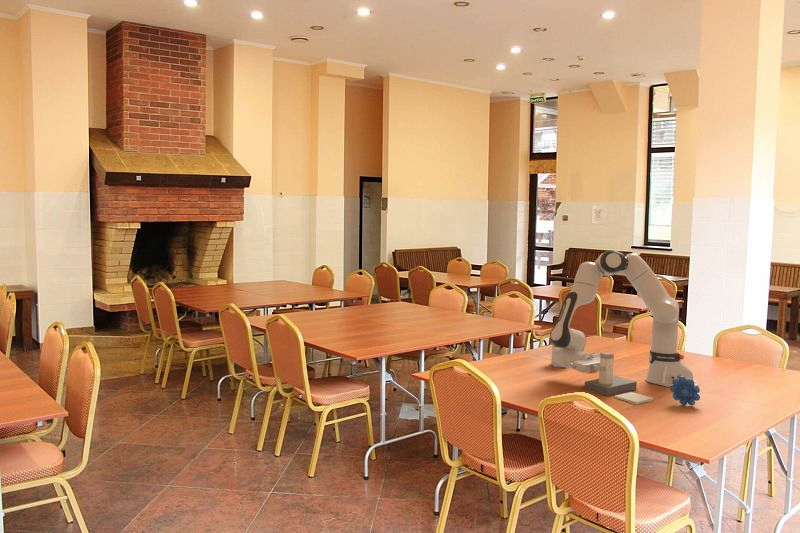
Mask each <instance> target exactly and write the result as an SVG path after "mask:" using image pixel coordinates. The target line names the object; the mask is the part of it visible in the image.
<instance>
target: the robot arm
mask: <svg viewBox="0 0 800 533" xmlns="http://www.w3.org/2000/svg"><path fill="white" fill-rule="evenodd" d="M618 273H620V274H622V275H624V276H625V277H626V279H627V280H628V281H629V282H630V284H631V286H632V287H633V288H634V290H635V291H636V292H637V294H638V295H639V296H640V298H641V299H642V302H643V303H644V305H646V307H647V309H648V310H649V312H650V313H651V315H652V330H651V341H650V344H651V345H650V350H649V355H648V360H649V367H648V371H647V375H646V378H645V381H646V382H648V383H651V384H654V385H660V386H664V387H667V388H668V387H669V388H670V386H672V385H673V384H672V380H673V379H678V380H679V377H681V376H683V377H685V378H686V380H688V379H692V380H693V381H694V383H695V384H694V386H698V387H699V382H698V381H697V380H696V379H694V373H693V371H692V369H691V368H689V367H688V366H687V365H686V364H685V363H684V362H683V361H682V360H684V359H685V355H683V354H681V353H679V352H678V336H679V318H680V317H679V316H680V304H679V303H678V301H677V299H675V298H674V297H672V296H671V295H670V293H669V292H668V290H667V289H666V287H664V285H663V283H662V282H661V281H660V279H659V278H658V276H657V275H656V274H655V273H654V271H653V269H652V268H651V267H650V266H649V265H648V263H647V262H646V261H645V260H644V259H643V258H642V257H641V256H640V255H639V254H638V253H633V252H631V253H628V254H624V253H622V252H620V251H618V250H616V249H615V250H614V249H609V250H608V249H607V250H605V251H604V252H603V253H601V254H600V255H599V256H598V257H597V258H596V260H594V261H593V262H592V261H584V262H582V263H581V264H580V265H579V267H578V269H577V271H576V274H575V277H574V281H573V284H572V288H571V290H570V292H569V293H567V294H566V296H565V298H564V300H563V303H562V305H561V308H560V311H559V314H558V316H557V319H556V322H555V324H554V325H553V327H552V329H551V331H550V334H549V335H550V336H549V337H550V338H549V339H550V341H551V345H552V344H553V345H554V346H555V347H556V348H554V350H553V352H552V351H551V359H552V358H553V360H554V362H555V363H556V364H558V365H560V366H563V367H562V368H566V369H572V370H574V371H576V372H579V373H583V374H585V373H591V372H595V371H596V372H599V371H605V367H603V366H600V355H599V354H598V353H597V352H596V353H595V352H586V351H584V350H585V347H586V345H587V337H586V334H585V333H584V332H582V331H580V330H578V329H574V328H571V327H570V326H571V325H570V324H571V322H572V319H573V316H574V315H575V314H574V313H575V311H576V309H577V308H578V307H581V306H586V305H587V304H590V303H592V302H593V301H594V300H595V299H596V296H597V294H598V288H599V285H600V284H599V283H600V280H601V278H604V277H606V278H607V277H612V276H614V275H616V274H618Z"/></svg>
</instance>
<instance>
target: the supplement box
mask: <svg viewBox="0 0 800 533" xmlns="http://www.w3.org/2000/svg"><path fill="white" fill-rule="evenodd" d="M554 348H556V347H555V346H554V345H553V344H552V343H551V353H552V352H553V350H554ZM550 364H551V365H552V366H553V367H554V368H564V367H563V366H560V365H558V364H556V363H555V362H554V360H553V358H552V357H551V362H550Z"/></svg>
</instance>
